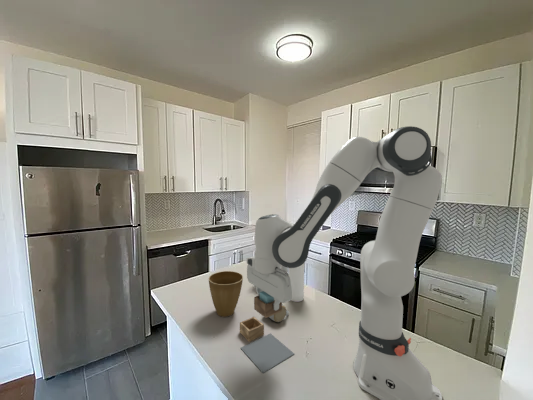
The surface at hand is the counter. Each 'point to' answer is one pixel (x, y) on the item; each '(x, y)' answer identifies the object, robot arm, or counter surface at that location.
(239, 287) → the plant pot
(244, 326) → the light wooden open box
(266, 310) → the brown wooden square tray
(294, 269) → the bottle
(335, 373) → the counter surface
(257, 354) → the slate mat
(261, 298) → the light blue block
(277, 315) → the ceramic mug
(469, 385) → the counter surface
